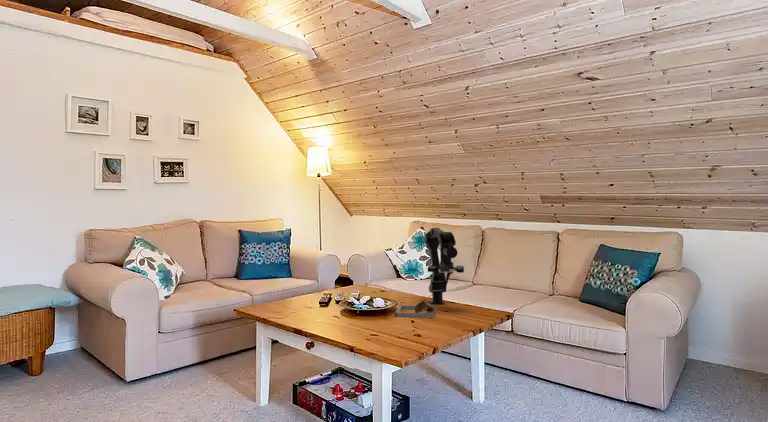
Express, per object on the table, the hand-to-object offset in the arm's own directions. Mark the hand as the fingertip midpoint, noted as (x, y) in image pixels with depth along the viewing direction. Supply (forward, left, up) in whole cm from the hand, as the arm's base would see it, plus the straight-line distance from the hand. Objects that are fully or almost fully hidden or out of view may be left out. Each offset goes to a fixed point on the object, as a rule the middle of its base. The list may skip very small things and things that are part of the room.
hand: (446, 285), depth 264 cm
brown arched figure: (+13, -9, -13) cm, 21 cm away
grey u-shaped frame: (+11, -14, -13) cm, 22 cm away
